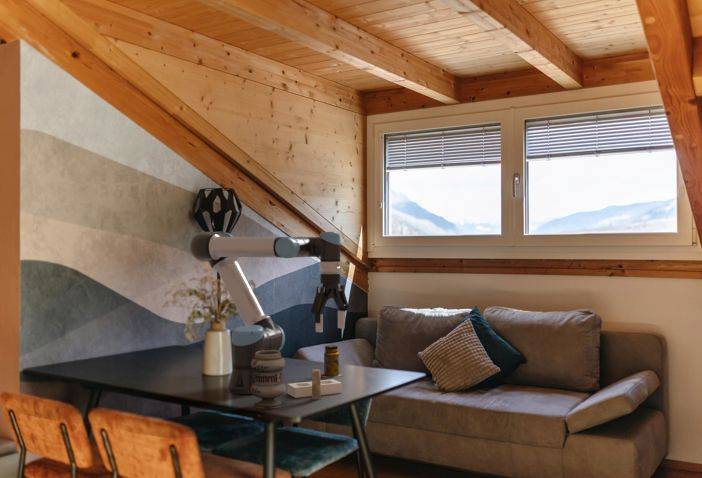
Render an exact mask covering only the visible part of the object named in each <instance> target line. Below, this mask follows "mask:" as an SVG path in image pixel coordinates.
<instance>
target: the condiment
mask: <svg viewBox="0 0 702 478" xmlns="http://www.w3.org/2000/svg"><path fill="white" fill-rule="evenodd" d="M338 350H339V348H338V346H337V345H335V344H334V345H333V344H332V345H331V344H330V345H325V347H324V354H323V362H324V363H323V371H324V372H323V373H320V376H321V378H332V377H333V378H334V377H341V376H343V374H339V373H340V362H339V360H340V355H339V351H338Z"/></svg>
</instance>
